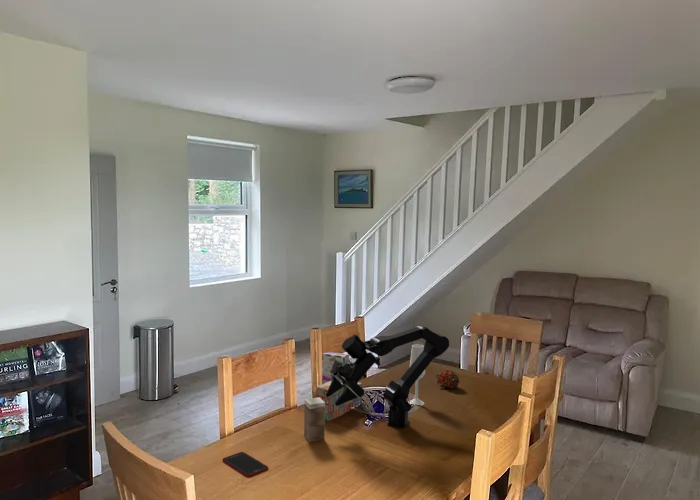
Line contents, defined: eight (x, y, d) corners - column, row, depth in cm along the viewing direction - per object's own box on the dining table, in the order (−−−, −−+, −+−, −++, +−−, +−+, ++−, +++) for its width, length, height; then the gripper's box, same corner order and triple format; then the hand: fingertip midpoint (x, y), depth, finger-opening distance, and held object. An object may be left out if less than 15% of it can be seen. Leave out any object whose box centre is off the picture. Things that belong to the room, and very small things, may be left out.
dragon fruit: (458, 395, 235) (437, 391, 244) (466, 380, 240) (445, 377, 249) (449, 381, 232) (428, 378, 241) (458, 367, 237) (437, 364, 246)
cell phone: (242, 454, 172) (242, 451, 172) (269, 470, 162) (269, 467, 162) (221, 461, 167) (221, 458, 167) (248, 479, 156) (248, 475, 156)
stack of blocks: (349, 402, 220) (350, 372, 219) (362, 405, 216) (362, 375, 215) (315, 417, 203) (316, 385, 202) (328, 421, 199) (329, 389, 198)
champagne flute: (423, 406, 216) (425, 348, 214) (407, 405, 217) (408, 347, 215) (424, 400, 222) (426, 344, 221) (408, 399, 224) (410, 343, 222)
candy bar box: (349, 391, 233) (350, 354, 231) (343, 394, 228) (344, 357, 227) (327, 386, 238) (327, 350, 236) (321, 390, 233) (321, 353, 232)
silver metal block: (318, 433, 188) (319, 397, 187) (324, 439, 183) (324, 402, 182) (304, 435, 186) (304, 399, 185) (309, 441, 181) (309, 404, 180)
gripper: (336, 345, 196) (307, 378, 192) (356, 359, 179) (325, 395, 175) (355, 365, 199) (327, 397, 196) (377, 380, 182) (346, 415, 179)
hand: (331, 400), depth 186 cm, fingers open, 9 cm apart
